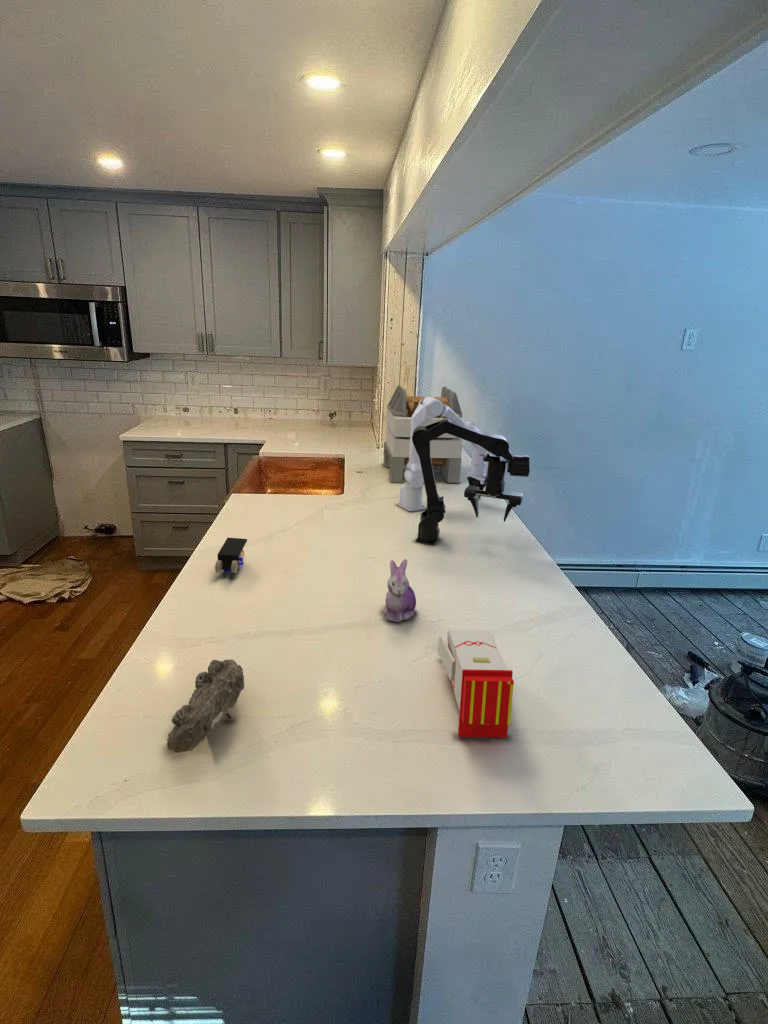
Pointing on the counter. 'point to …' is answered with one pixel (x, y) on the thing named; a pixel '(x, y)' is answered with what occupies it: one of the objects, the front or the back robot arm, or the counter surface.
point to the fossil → (206, 705)
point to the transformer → (399, 428)
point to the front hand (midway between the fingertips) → (490, 519)
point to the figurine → (399, 594)
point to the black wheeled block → (230, 556)
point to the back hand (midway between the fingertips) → (475, 496)
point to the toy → (478, 682)
